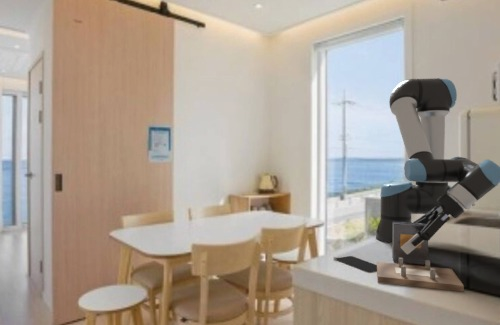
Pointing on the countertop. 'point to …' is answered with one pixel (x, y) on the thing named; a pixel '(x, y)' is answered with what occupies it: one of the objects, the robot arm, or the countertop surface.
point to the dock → (418, 276)
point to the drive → (401, 236)
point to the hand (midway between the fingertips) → (401, 245)
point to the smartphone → (358, 264)
